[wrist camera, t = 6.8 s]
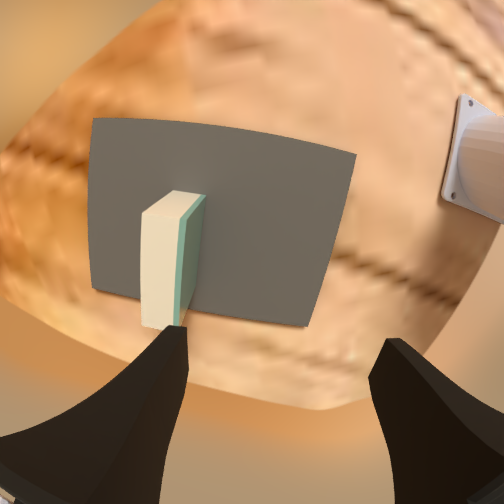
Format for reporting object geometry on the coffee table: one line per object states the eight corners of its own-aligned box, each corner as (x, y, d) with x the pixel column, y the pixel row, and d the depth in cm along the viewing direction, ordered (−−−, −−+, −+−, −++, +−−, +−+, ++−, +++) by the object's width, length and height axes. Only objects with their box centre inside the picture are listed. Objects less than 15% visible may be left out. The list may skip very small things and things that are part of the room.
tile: (206, 195, 16) (186, 219, 12) (195, 285, 19) (178, 333, 14) (173, 190, 16) (141, 212, 11) (166, 280, 18) (141, 325, 14)
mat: (354, 153, 15) (356, 154, 15) (306, 323, 20) (307, 326, 20) (96, 118, 15) (93, 117, 14) (94, 285, 19) (92, 287, 19)
